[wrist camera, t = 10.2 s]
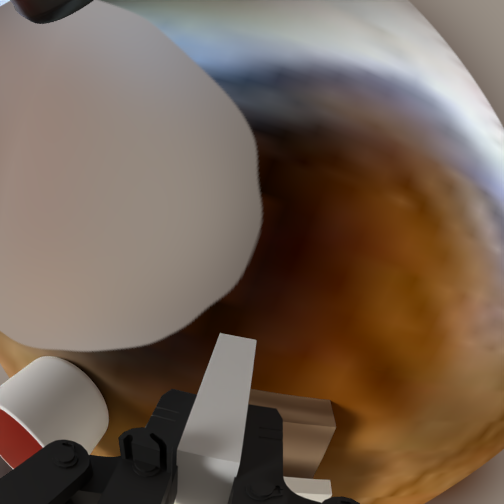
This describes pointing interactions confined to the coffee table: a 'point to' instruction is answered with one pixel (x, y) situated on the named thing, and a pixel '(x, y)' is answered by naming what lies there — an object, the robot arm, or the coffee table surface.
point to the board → (300, 430)
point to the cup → (49, 409)
